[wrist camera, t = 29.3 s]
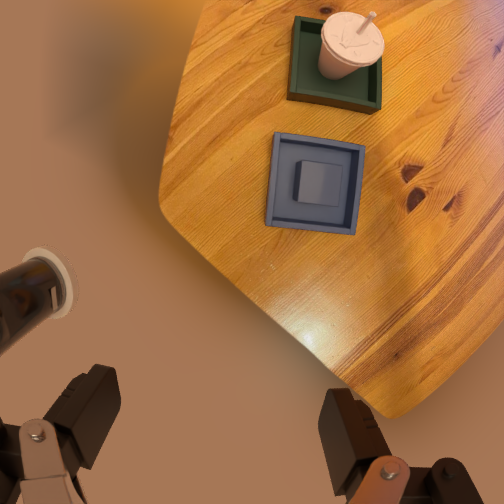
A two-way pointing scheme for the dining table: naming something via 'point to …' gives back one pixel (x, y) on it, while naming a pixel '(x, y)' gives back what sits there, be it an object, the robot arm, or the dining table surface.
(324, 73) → the smoothie
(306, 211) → the blue bin
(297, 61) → the green bin
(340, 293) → the dining table surface
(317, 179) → the blue block
